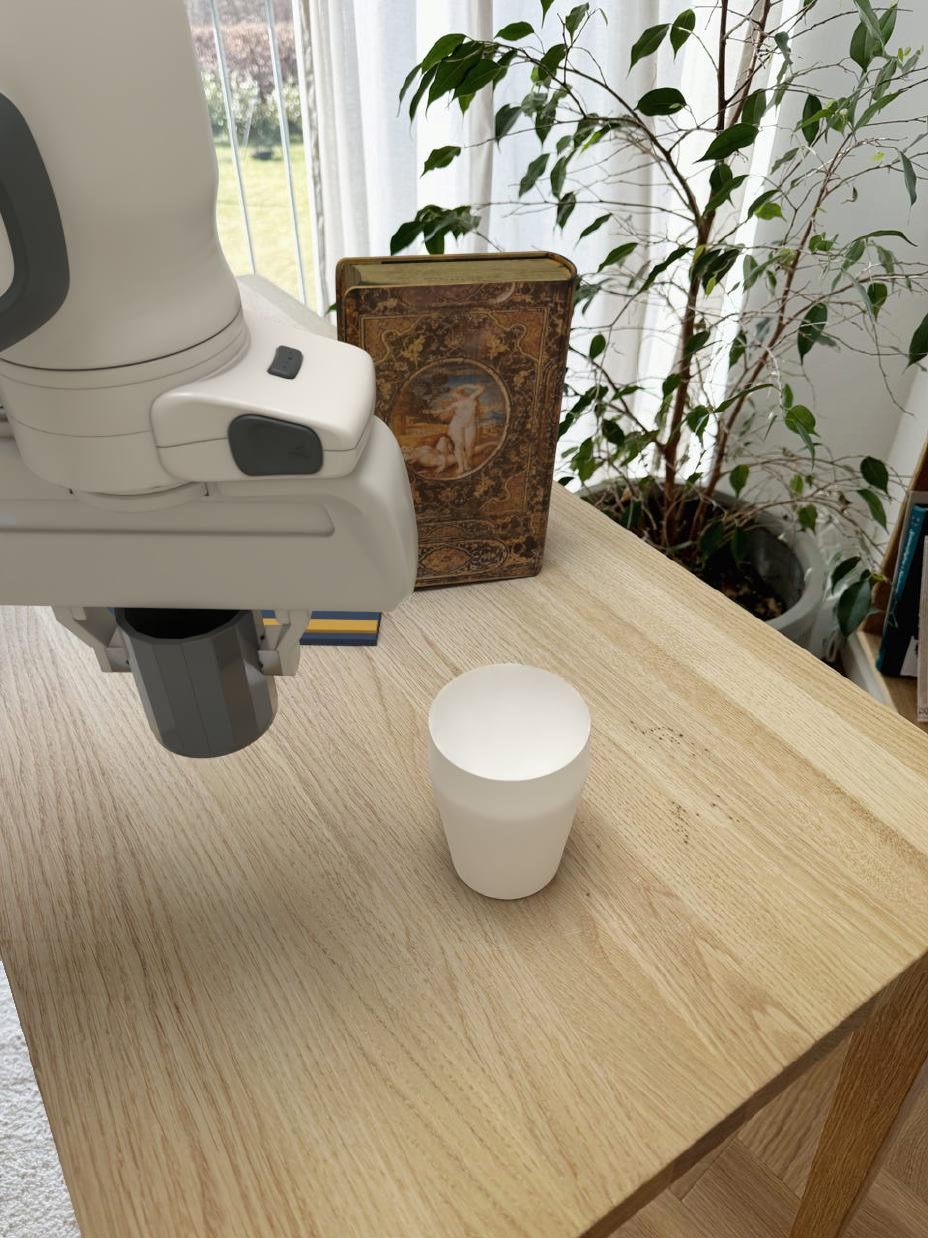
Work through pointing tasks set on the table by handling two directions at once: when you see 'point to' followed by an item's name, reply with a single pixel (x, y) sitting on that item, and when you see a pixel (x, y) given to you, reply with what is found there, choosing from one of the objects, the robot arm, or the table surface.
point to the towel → (333, 627)
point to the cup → (508, 774)
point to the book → (468, 395)
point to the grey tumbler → (199, 677)
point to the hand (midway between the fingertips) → (204, 665)
